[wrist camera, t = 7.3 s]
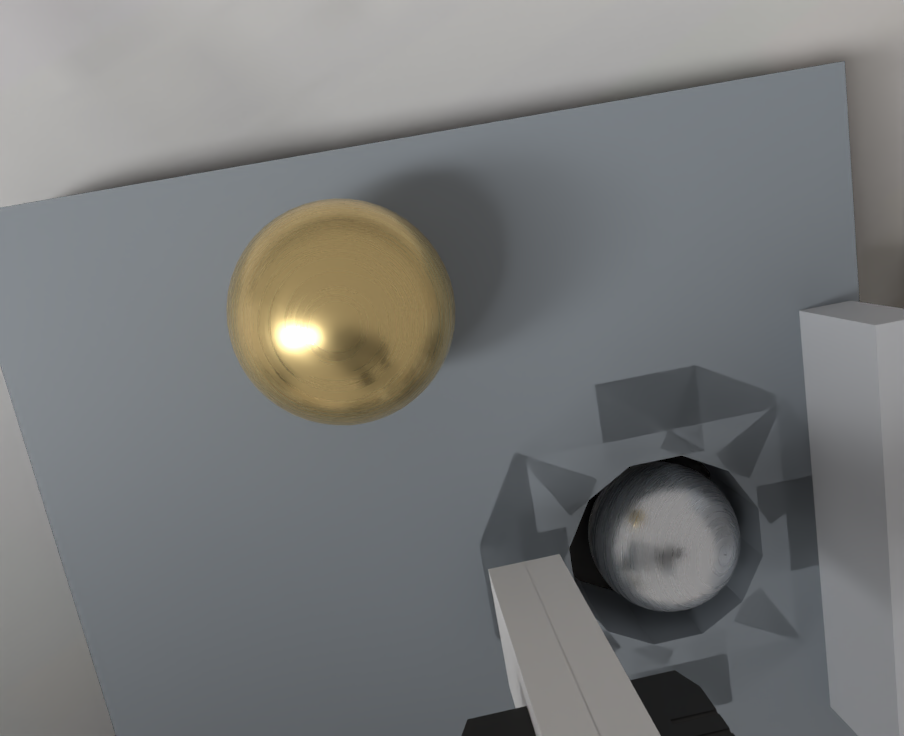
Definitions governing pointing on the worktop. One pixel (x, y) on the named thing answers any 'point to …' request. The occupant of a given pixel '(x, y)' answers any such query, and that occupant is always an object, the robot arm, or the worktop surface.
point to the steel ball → (664, 536)
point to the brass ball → (340, 311)
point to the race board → (478, 422)
